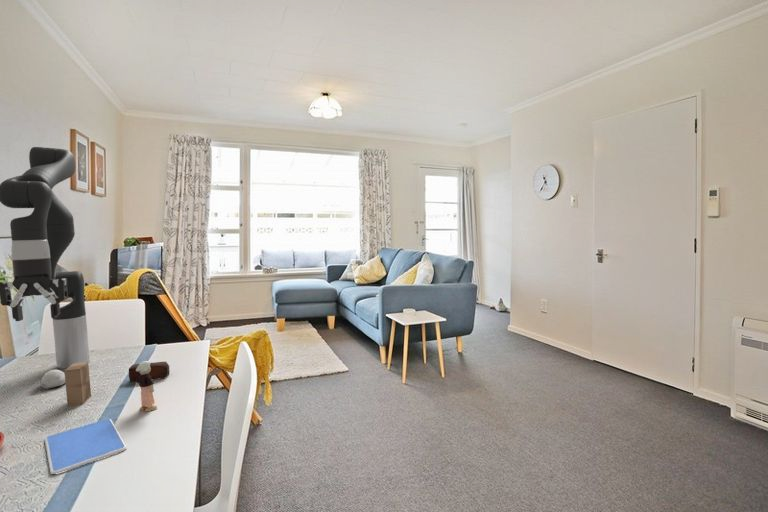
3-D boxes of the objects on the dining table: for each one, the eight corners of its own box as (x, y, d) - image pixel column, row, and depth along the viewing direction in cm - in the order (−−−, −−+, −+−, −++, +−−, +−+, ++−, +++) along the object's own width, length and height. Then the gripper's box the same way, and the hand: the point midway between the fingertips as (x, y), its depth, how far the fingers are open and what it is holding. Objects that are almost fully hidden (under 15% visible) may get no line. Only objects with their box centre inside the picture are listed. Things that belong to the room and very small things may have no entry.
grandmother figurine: (164, 406, 104) (161, 360, 103) (151, 413, 100) (148, 365, 99) (143, 403, 106) (139, 357, 105) (129, 409, 103) (126, 362, 102)
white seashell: (32, 387, 119) (30, 371, 119) (63, 378, 127) (62, 363, 126) (46, 392, 115) (44, 376, 115) (77, 382, 123) (76, 367, 122)
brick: (129, 383, 121) (128, 368, 121) (133, 378, 125) (132, 364, 125) (167, 378, 124) (166, 364, 124) (170, 374, 128) (169, 360, 128)
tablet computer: (44, 441, 89) (44, 435, 89) (111, 421, 97) (110, 416, 97) (51, 479, 75) (50, 473, 75) (128, 452, 83) (127, 446, 83)
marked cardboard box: (76, 397, 111) (73, 363, 110) (91, 395, 112) (88, 361, 111) (67, 406, 105) (64, 370, 105) (83, 404, 107) (80, 368, 106)
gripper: (70, 255, 109) (75, 313, 110) (4, 257, 104) (10, 319, 105) (58, 256, 102) (64, 319, 103) (-12, 259, 97) (-6, 325, 98)
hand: (37, 318), depth 104 cm, fingers open, 7 cm apart
